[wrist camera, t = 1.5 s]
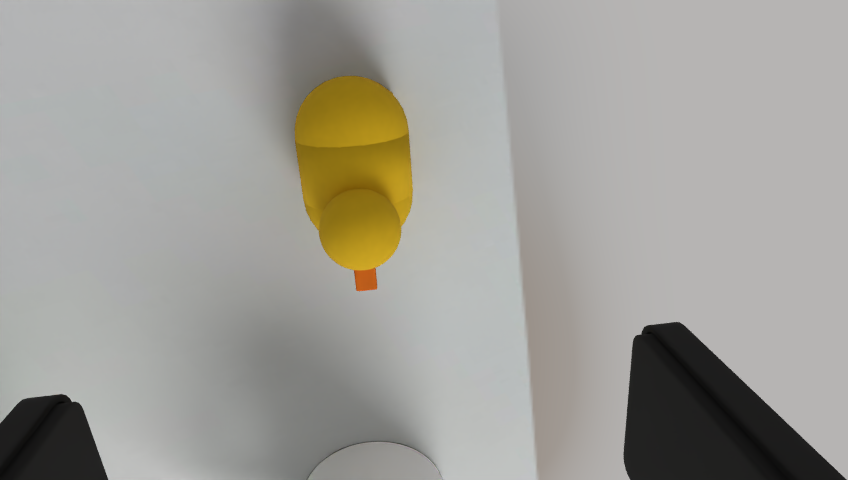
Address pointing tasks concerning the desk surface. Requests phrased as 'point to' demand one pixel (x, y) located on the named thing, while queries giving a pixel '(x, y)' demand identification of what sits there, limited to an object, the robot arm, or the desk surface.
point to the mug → (376, 464)
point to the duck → (355, 172)
